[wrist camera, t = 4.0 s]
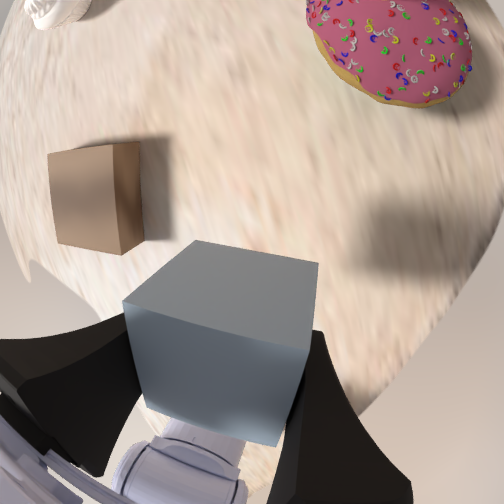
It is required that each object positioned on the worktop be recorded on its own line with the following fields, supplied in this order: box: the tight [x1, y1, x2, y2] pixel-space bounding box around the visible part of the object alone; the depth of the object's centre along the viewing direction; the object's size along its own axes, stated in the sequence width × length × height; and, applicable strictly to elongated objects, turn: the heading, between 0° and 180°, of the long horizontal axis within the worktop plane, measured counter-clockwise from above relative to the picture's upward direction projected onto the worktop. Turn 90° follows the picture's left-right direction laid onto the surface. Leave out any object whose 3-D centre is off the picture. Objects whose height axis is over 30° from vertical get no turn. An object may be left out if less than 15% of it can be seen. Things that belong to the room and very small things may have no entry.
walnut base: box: [48, 142, 144, 256], centre depth 20 cm, size 8×8×4 cm
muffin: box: [24, 0, 92, 30], centre depth 12 cm, size 6×6×7 cm
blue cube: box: [122, 240, 318, 447], centre depth 10 cm, size 5×5×5 cm
